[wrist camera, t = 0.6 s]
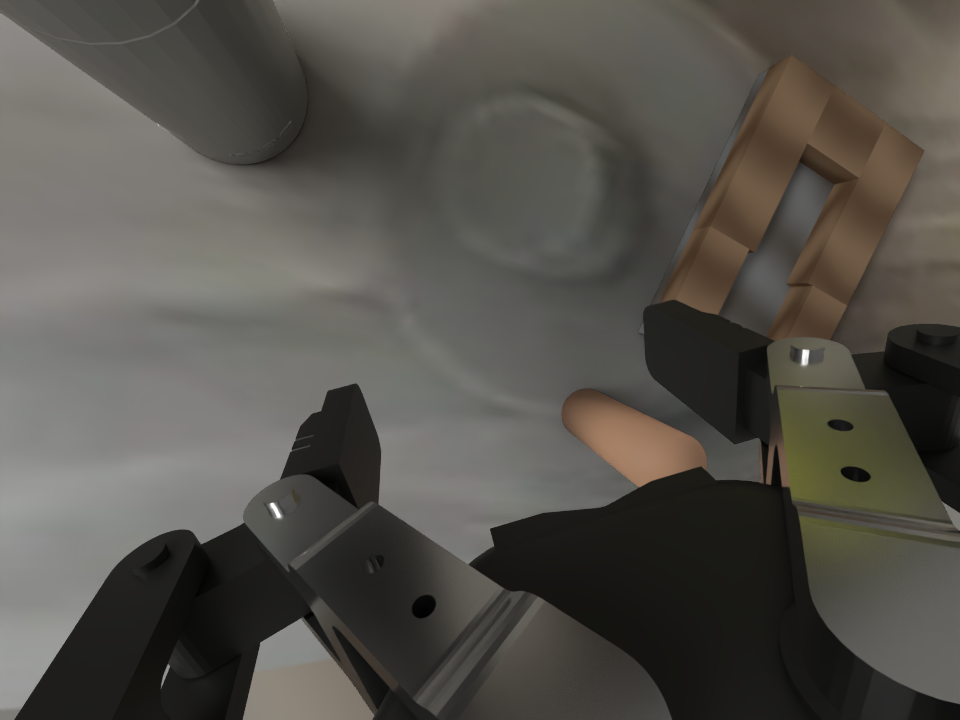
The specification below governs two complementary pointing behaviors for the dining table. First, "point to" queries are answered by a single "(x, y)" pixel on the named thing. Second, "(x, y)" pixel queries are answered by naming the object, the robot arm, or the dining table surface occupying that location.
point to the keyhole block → (791, 208)
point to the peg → (630, 438)
